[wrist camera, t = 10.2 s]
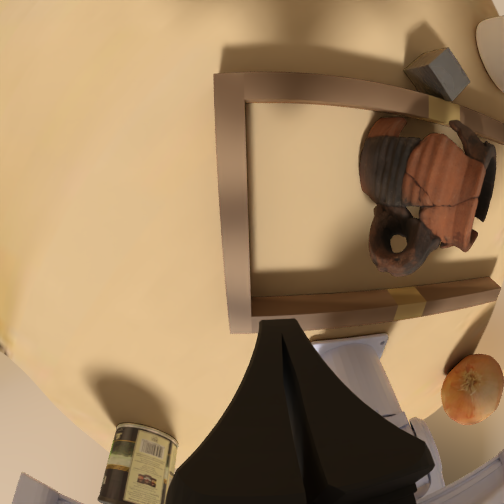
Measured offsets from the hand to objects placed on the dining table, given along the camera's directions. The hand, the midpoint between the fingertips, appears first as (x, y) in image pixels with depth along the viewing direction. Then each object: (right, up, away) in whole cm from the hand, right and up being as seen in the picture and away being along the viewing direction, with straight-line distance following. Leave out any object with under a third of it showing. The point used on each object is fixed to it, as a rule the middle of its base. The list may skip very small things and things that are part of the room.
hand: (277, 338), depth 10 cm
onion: (+28, -13, +18) cm, 36 cm away
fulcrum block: (+12, +16, +3) cm, 20 cm away
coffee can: (-17, -26, +23) cm, 39 cm away
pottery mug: (+10, +8, +7) cm, 15 cm away
